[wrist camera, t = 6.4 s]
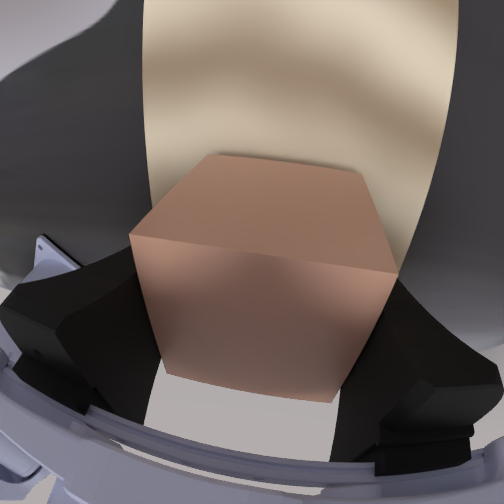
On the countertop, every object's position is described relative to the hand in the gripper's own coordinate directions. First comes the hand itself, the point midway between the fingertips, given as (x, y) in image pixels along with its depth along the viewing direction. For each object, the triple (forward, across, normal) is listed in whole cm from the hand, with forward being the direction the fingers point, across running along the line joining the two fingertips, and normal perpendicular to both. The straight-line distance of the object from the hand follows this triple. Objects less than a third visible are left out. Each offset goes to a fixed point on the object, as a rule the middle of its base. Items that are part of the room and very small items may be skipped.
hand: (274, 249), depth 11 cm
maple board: (+3, 0, -6) cm, 6 cm away
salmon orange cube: (+1, 0, 0) cm, 1 cm away
